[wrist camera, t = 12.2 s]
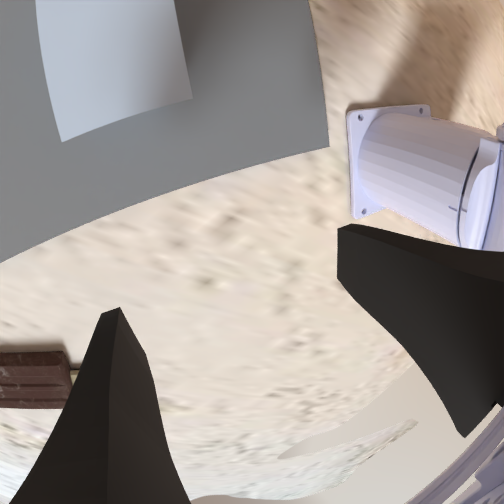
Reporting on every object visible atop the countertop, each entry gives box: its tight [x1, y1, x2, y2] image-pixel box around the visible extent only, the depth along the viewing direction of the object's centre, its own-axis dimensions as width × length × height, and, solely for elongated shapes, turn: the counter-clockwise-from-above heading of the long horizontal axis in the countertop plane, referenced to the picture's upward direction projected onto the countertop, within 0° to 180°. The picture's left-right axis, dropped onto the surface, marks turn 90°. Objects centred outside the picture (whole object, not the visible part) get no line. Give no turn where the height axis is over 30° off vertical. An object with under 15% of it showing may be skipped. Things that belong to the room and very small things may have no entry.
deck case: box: [35, 0, 193, 142], centre depth 8 cm, size 9×4×5 cm, turn 10°
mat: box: [0, 0, 330, 263], centre depth 10 cm, size 22×18×1 cm
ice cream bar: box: [0, 351, 79, 409], centre depth 17 cm, size 5×2×15 cm
